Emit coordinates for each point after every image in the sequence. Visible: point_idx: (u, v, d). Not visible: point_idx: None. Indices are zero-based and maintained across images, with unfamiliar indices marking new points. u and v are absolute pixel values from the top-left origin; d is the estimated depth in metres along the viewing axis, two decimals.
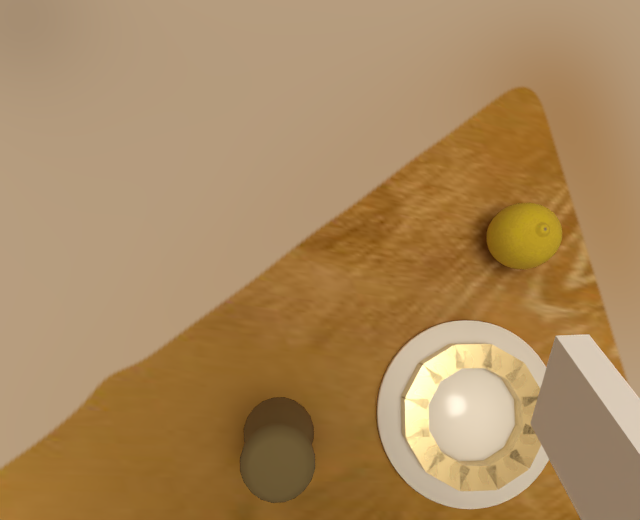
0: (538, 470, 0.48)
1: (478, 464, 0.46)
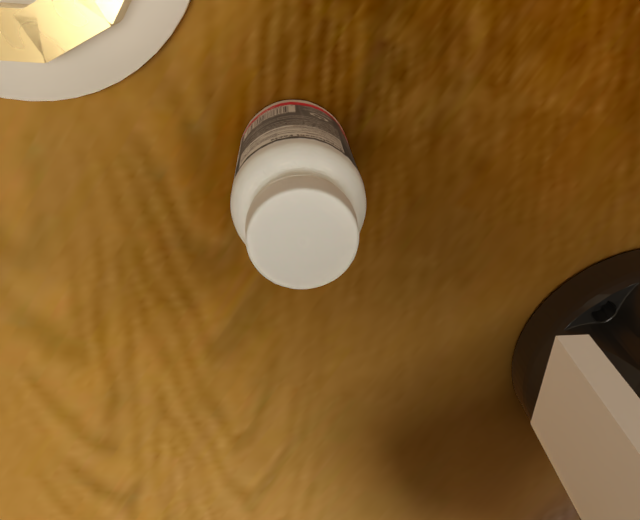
0: None
1: None
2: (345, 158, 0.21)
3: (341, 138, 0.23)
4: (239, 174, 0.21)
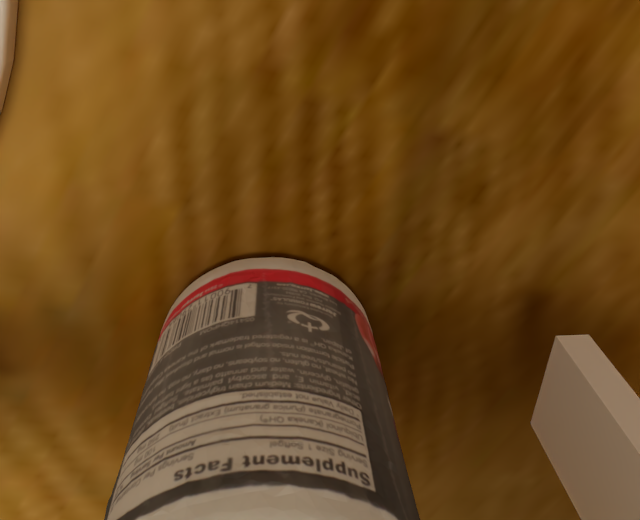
0: None
1: None
2: None
3: (361, 385, 0.10)
4: None
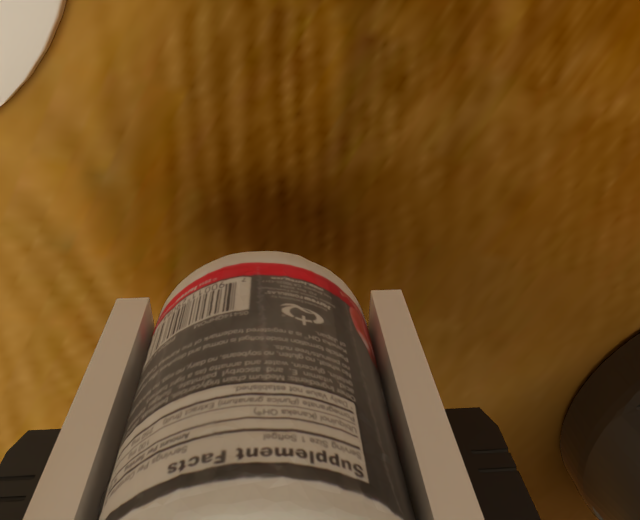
0: None
1: None
2: None
3: (355, 378, 0.10)
4: None
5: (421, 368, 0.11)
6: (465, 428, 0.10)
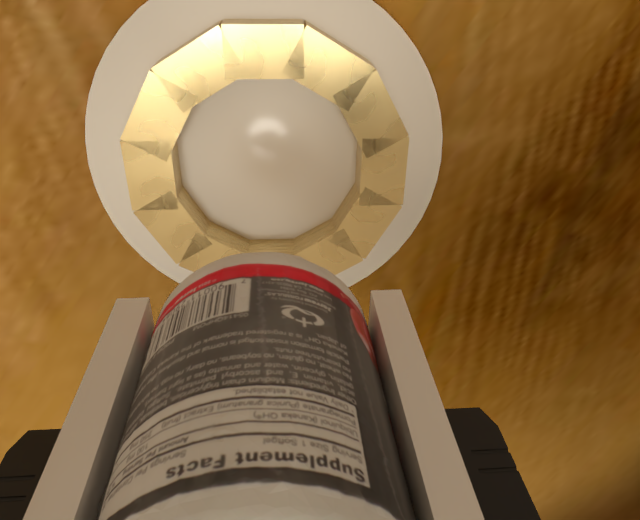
0: (432, 101, 0.24)
1: (348, 207, 0.25)
2: None
3: (356, 381, 0.10)
4: None
5: (421, 368, 0.11)
6: (465, 428, 0.10)
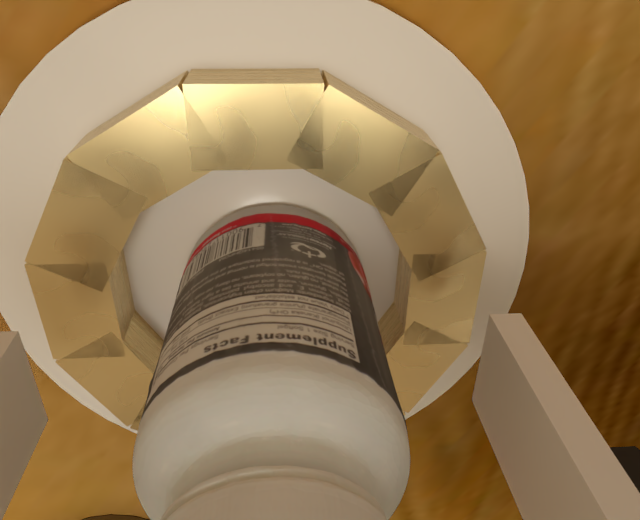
0: (518, 189, 0.16)
1: (385, 343, 0.17)
2: (362, 385, 0.10)
3: (351, 297, 0.12)
4: (141, 431, 0.10)
5: (572, 404, 0.10)
6: (628, 470, 0.10)
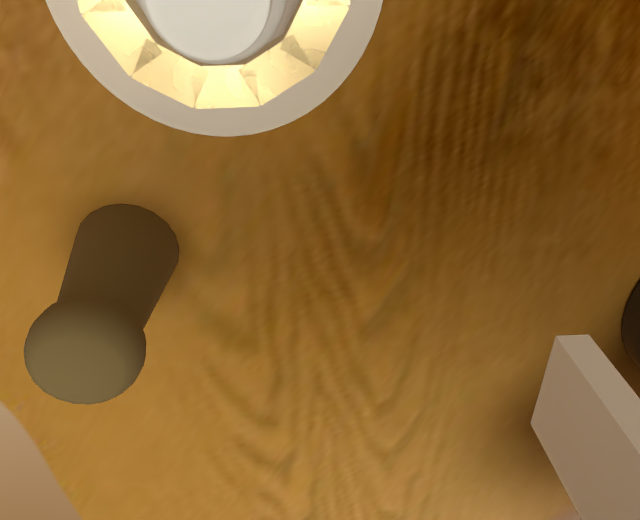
0: None
1: (296, 11, 0.25)
2: None
3: None
4: None
5: None
6: None
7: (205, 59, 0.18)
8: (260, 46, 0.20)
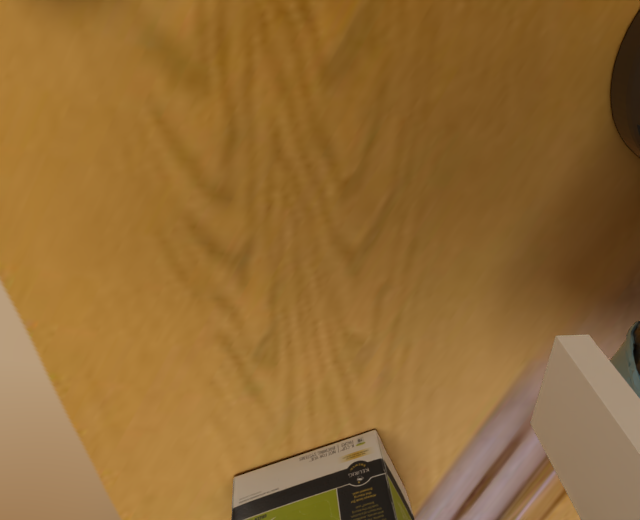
0: None
1: None
2: None
3: None
4: None
5: None
6: None
7: None
8: None
